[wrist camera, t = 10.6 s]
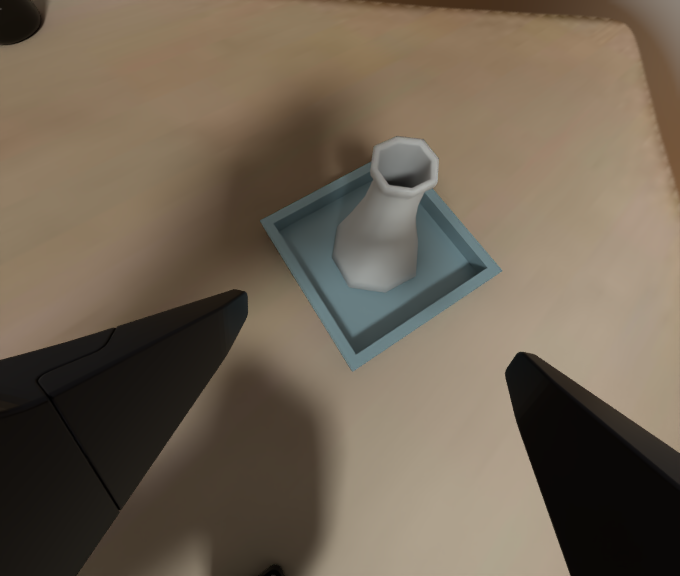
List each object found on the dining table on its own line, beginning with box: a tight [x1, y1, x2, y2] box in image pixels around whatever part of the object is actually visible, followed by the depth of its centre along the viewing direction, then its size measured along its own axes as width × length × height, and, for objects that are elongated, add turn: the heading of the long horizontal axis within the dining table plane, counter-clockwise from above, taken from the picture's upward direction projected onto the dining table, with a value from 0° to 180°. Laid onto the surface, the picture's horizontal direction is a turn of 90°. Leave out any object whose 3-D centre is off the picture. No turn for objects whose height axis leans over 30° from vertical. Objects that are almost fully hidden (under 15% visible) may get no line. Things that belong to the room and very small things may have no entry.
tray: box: [260, 161, 502, 371], centre depth 21 cm, size 14×14×2 cm
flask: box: [332, 136, 439, 293], centre depth 16 cm, size 7×7×10 cm
